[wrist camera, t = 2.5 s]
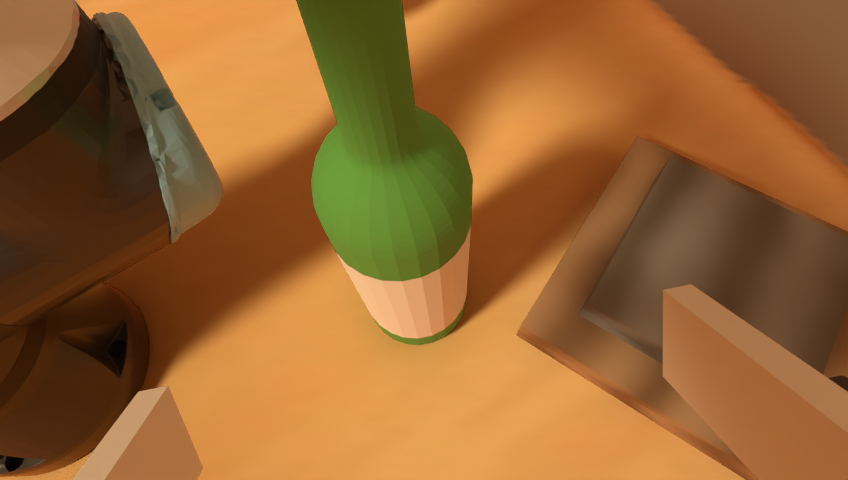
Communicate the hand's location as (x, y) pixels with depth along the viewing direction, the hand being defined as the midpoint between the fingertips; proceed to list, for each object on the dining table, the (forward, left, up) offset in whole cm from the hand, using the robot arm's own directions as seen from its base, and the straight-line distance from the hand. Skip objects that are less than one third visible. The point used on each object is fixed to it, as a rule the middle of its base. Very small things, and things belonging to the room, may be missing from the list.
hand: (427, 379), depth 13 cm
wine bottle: (-7, +7, -25) cm, 27 cm away
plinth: (+11, +19, -25) cm, 33 cm away
